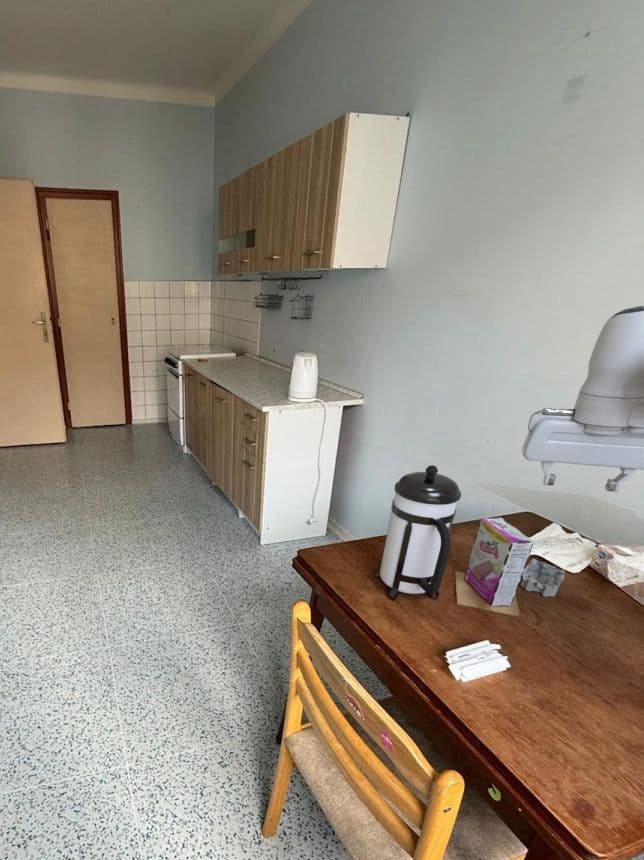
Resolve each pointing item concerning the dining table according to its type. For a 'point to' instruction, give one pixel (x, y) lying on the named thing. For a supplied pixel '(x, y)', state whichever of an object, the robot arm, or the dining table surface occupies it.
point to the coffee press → (419, 533)
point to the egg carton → (542, 578)
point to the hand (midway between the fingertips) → (578, 487)
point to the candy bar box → (497, 561)
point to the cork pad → (479, 598)
